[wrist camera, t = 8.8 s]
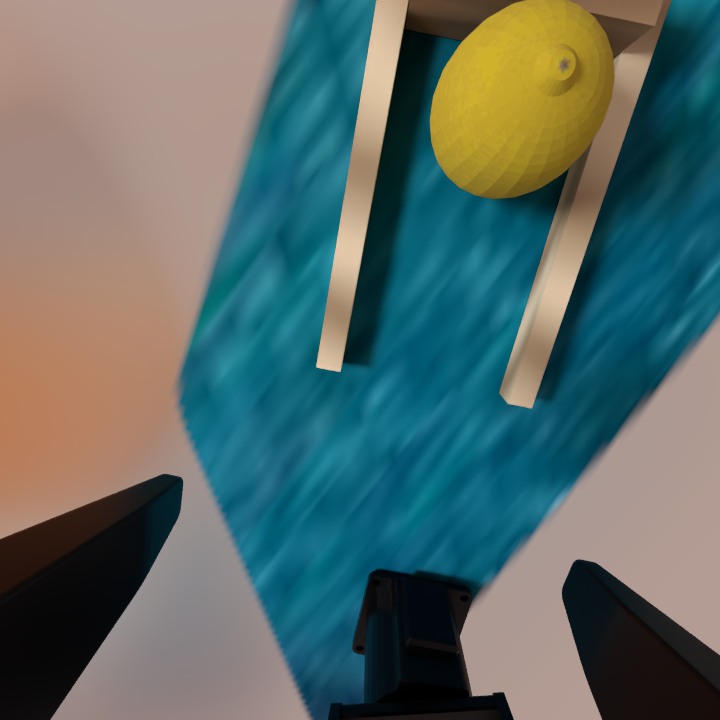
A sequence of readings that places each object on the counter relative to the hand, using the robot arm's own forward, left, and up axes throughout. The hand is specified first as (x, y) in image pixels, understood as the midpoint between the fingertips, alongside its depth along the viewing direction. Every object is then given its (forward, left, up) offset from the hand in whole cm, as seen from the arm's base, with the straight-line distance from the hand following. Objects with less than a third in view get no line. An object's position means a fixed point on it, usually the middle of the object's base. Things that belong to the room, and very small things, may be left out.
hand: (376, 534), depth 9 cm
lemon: (+11, -3, -13) cm, 17 cm away
